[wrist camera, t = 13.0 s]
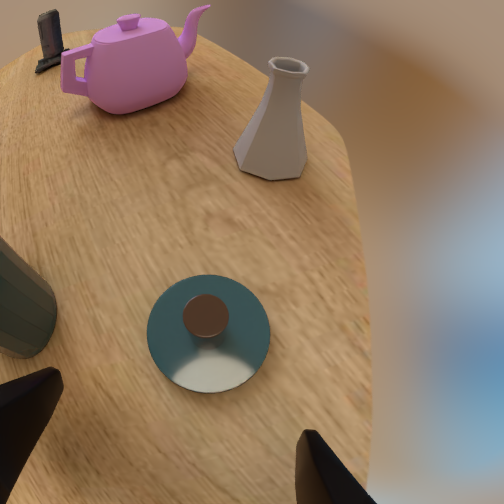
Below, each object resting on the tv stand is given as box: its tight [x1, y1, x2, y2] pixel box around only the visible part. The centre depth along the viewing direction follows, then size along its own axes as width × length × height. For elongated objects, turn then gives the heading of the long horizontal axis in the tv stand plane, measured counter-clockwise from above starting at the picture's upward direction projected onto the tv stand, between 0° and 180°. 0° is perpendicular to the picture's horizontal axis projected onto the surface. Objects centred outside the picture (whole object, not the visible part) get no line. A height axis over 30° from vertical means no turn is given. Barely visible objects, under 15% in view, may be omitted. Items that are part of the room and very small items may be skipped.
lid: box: [147, 275, 270, 393], centre depth 17 cm, size 8×8×5 cm
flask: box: [233, 57, 310, 180], centre depth 23 cm, size 7×7×10 cm
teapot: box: [61, 5, 211, 114], centre depth 27 cm, size 13×20×11 cm
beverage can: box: [35, 9, 70, 73], centre depth 33 cm, size 9×8×12 cm
